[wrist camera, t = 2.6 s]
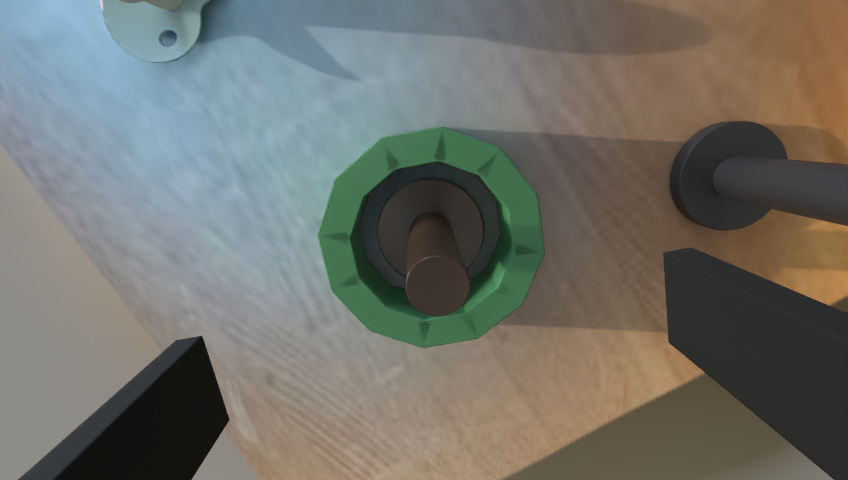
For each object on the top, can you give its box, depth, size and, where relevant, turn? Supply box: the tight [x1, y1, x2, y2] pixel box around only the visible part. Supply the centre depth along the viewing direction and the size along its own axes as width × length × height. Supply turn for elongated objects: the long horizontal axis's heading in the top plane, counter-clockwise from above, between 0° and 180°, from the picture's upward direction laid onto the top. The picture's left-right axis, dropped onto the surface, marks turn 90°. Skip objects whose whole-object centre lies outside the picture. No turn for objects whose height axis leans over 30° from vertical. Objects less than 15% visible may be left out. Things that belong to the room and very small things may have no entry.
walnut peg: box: [377, 177, 484, 316], centre depth 22 cm, size 6×6×10 cm
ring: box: [318, 127, 545, 348], centre depth 25 cm, size 11×11×4 cm
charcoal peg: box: [670, 121, 848, 230], centre depth 21 cm, size 6×6×10 cm
